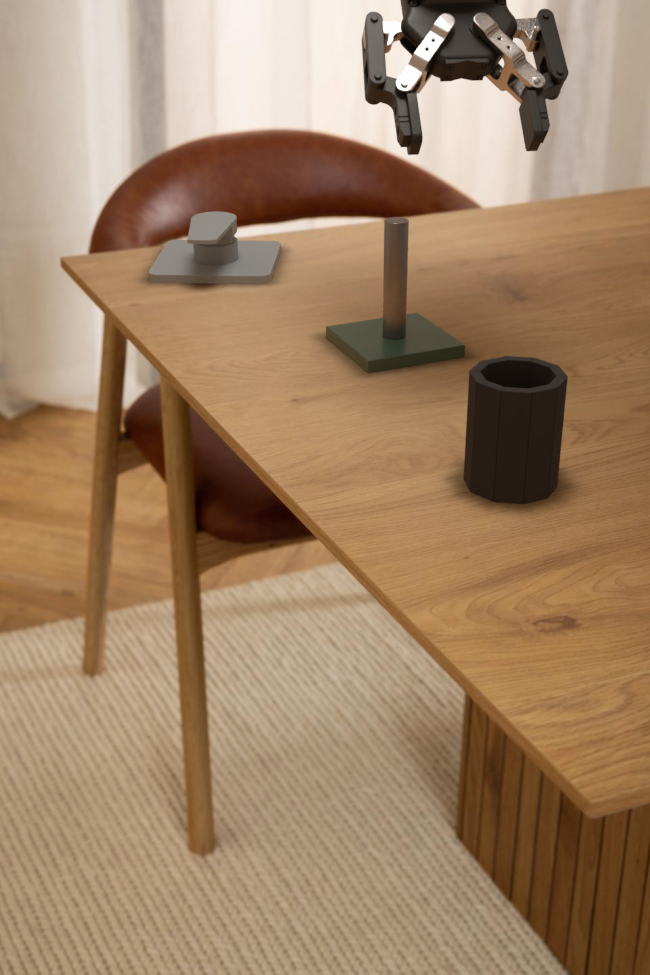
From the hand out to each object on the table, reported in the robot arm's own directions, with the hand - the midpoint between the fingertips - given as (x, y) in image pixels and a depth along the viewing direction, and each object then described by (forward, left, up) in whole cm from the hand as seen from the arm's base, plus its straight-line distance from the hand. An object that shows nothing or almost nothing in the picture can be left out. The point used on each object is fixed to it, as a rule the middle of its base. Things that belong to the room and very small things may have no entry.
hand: (476, 146), depth 82 cm
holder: (+3, -13, -20) cm, 24 cm away
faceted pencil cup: (0, +13, -20) cm, 24 cm away
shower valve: (+17, -38, -20) cm, 46 cm away
